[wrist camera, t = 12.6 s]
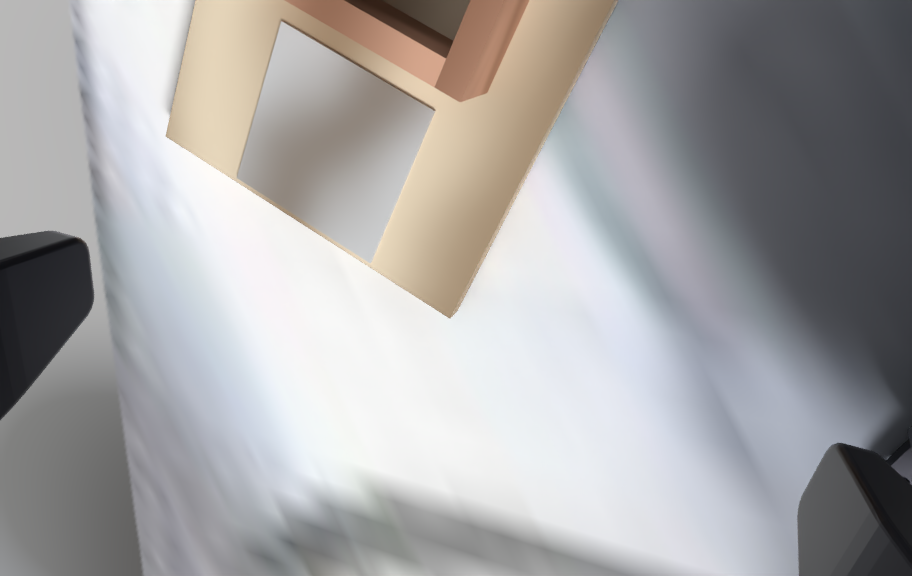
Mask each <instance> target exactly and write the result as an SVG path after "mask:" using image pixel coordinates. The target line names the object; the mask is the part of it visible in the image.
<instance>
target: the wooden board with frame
mask: <svg viewBox="0 0 912 576" xmlns="http://www.w3.org/2000/svg"><path fill="white" fill-rule="evenodd" d="M617 2H618V0H195V5H194V10H193V14H192V19H191V23H190V28H189V32H188V37H187V41H186V46H185V51H184V55H183V60H182V64H181V69H180V73H179V78H178V82H177V87H176V91H175V96H174V101H173V105H172V110H171V114H170V119H169V123H168V128H167V132H166V137H167V138H169V139H170V140H172V141H174V142H175V143H177V144H178V145H180V146H181V147H183V148H185V149H186V150H188V151H189V152H191V153H192V154H194V155H195V156H197V157H199V158H200V159H202V160H203V161H205V162H206V163H208V164H209V165H211V166H213V167H214V168H216V169H217V170H219V171H220V172H222V173H224V174H225V175H227V176H228V177H230V178H231V179H233V180H234V181H236V182H238V183H239V184H241V185H242V186H244V187H245V188H247V189H248V190H250V191H252V192H253V193H255V194H256V195H258V196H259V197H261V198H263V199H264V200H266V201H267V202H269V203H270V204H272V205H273V206H275V207H277V208H278V209H280V210H281V211H283V212H284V213H286V214H287V215H289V216H291V217H292V218H294V219H295V220H297V221H298V222H300V223H302V224H303V225H305V226H306V227H308V228H309V229H311V230H312V231H314V232H316V233H317V234H319V235H320V236H322V237H323V238H325V239H326V240H328V241H330V242H331V243H333V244H334V245H336V246H337V247H339V248H341V249H342V250H344V251H345V252H347V253H348V254H350V255H351V256H353V257H355V258H356V259H358V260H359V261H361V262H362V263H364V264H365V265H367V266H369V267H370V268H372V269H373V270H375V271H376V272H378V273H380V274H381V275H383V276H384V277H386V278H387V279H389V280H390V281H392V282H394V283H395V284H397V285H398V286H400V287H401V288H403V289H405V290H406V291H408V292H409V293H411V294H412V295H414V296H415V297H417V298H419V299H420V300H422V301H423V302H425V303H426V304H428V305H429V306H431V307H433V308H434V309H436V310H437V311H439V312H440V313H442V314H444V315H445V316H447V317H448V318H451V317H452V316H453V315H454V314H455V313H456V312H457V311H458V309H459V307H460V305H461V303H462V301H463V299H464V297H465V295H466V293H467V291H468V289H469V287H470V285H471V284H472V282H473V280H474V278H475V276H476V274H477V272H478V270H479V268H480V266H481V264H482V262H483V260H484V258H485V257H486V255H487V253H488V251H489V249H490V247H491V245H492V243H493V241H494V239H495V237H496V235H497V233H498V232H499V230H500V228H501V226H502V224H503V222H504V220H505V218H506V216H507V214H508V212H509V210H510V208H511V206H512V205H513V203H514V201H515V199H516V197H517V195H518V193H519V191H520V189H521V187H522V185H523V183H524V181H525V179H526V178H527V176H528V174H529V172H530V170H531V168H532V166H533V164H534V162H535V160H536V158H537V156H538V154H539V152H540V151H541V149H542V147H543V145H544V143H545V141H546V139H547V137H548V135H549V133H550V131H551V129H552V127H553V126H554V124H555V122H556V120H557V118H558V116H559V114H560V112H561V110H562V108H563V106H564V104H565V102H566V100H567V99H568V97H569V95H570V93H571V91H572V89H573V87H574V85H575V83H576V81H577V79H578V77H579V75H580V73H581V72H582V70H583V68H584V66H585V64H586V62H587V60H588V58H589V56H590V54H591V52H592V50H593V48H594V46H595V45H596V43H597V41H598V39H599V37H600V35H601V33H602V31H603V29H604V27H605V25H606V23H607V21H608V20H609V18H610V16H611V14H612V12H613V10H614V8H615V6H616V4H617Z"/></svg>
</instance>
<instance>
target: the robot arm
mask: <svg viewBox="0 0 912 576" xmlns="http://www.w3.org/2000/svg"><path fill="white" fill-rule="evenodd" d="M93 302H94V288H93V280H92V272H91V263H90V254H89V249H88V246H87V244H86V243H85V242H84V241H83V240H82V239H81V238H78V237H75V236H71V235H68V234H64V233H60V232H56V231H44V232H37V233H31V234H24V235H17V236H11V237H5V238H0V420H1V419H2V418H3V417H4V416H5V415H6V414H7V413H8V412H9V411H10V410H11V408H12V407H13V406H14V405H15V404H16V403H17V402H18V401H19V399H20V398H21V397H22V396H23V395H24V394H25V392H26V391H27V390H28V389H29V388H30V386H31V385H32V384H33V383H34V381H35V380H36V379H37V378H38V376H39V375H40V374H41V373H42V372H43V370H44V369H45V368H46V366H47V365H48V364H49V363H50V362H51V360H52V359H53V358H54V357H55V355H56V354H57V353H58V352H59V351H60V349H61V348H62V347H63V346H64V344H65V343H66V342H67V341H68V339H69V338H70V337H71V336H72V334H73V333H74V332H75V331H76V329H77V328H78V327H79V326H80V324H81V323H82V322H83V321H84V319H85V318H86V317H87V316H88V314H89V312H90V310H91V308H92V305H93ZM908 435H909V439H908V440H907V441H906V442H905V443H904V444H903V445H902V446H901V447H900V448H899V449H898V450H897V451H896V452H895V453H894V454H893V455H892V456H891V457H889V458H888V459H887V460H886V461H885V460H884V459H883V458H882V457H881V456H879V455H878V454H877V453H875V452H873V451H870V450H866V449H862V448H859V447H855V446H851V445H847V444H843V443H836V444H834V445H832V446H831V447H830V448H829V449H828V450H827V451H826V453H825V454H824V456H823V458H822V460H821V462H820V463H819V465H818V467H817V469H816V471H815V473H814V474H813V476H812V478H811V480H810V482H809V484H808V485H807V487H806V489H805V491H804V493H803V495H802V497H801V500H800V503H799V507H798V515H797V522H798V561H799V576H912V426H911V427H910V428H909V429H908ZM902 476H903V477H905V478H907V480H905V479H904V478H903V477H902Z"/></svg>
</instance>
